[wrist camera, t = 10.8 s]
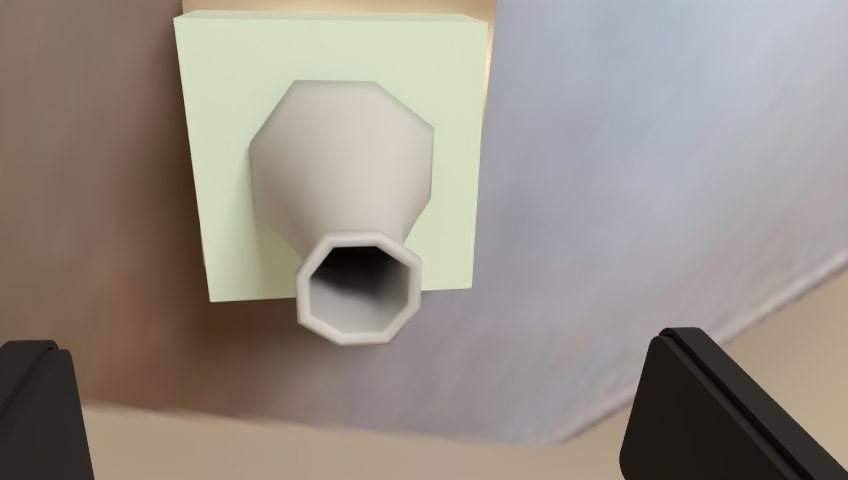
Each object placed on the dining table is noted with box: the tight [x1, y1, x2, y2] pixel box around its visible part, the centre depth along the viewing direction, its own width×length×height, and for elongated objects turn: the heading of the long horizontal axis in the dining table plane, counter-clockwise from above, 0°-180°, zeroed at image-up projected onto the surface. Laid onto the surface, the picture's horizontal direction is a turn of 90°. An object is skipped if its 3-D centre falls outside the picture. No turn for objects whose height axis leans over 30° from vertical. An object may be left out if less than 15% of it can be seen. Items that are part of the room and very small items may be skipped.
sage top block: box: [173, 10, 488, 302], centre depth 26 cm, size 11×11×4 cm
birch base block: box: [182, 0, 497, 266], centre depth 30 cm, size 13×13×4 cm
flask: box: [250, 80, 434, 347], centre depth 19 cm, size 7×7×10 cm
